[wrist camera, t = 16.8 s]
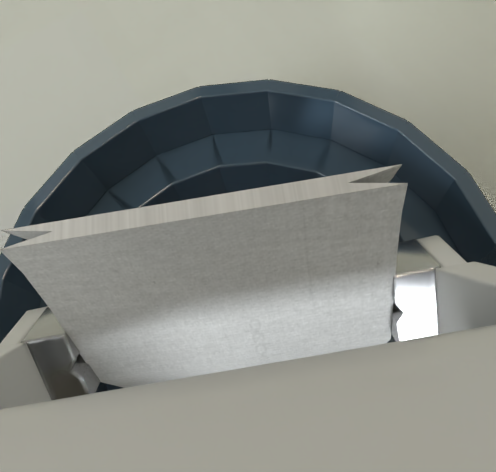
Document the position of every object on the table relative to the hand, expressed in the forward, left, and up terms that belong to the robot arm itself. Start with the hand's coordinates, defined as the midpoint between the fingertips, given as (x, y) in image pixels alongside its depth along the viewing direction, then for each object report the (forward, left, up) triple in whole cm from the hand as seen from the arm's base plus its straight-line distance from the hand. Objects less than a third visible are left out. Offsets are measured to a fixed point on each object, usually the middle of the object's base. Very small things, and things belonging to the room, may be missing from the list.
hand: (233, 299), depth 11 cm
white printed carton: (0, 0, -6) cm, 6 cm away
